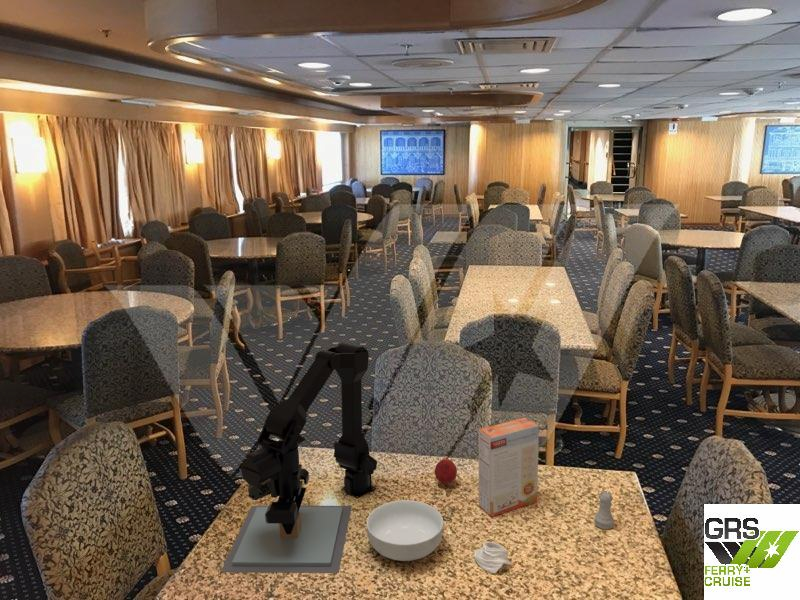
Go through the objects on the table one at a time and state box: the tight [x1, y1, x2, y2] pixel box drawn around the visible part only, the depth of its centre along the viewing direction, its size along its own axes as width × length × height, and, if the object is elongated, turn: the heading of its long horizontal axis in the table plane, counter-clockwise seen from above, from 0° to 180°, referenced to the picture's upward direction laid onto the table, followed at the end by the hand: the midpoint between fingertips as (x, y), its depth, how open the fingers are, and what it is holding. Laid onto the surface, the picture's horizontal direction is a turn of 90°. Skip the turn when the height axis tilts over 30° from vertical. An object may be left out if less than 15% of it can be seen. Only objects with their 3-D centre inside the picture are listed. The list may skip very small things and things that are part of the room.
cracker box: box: [477, 417, 540, 517], centre depth 153 cm, size 14×6×21 cm, turn 115°
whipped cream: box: [474, 541, 512, 574], centre depth 133 cm, size 8×7×5 cm
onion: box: [434, 455, 458, 486], centre depth 164 cm, size 6×6×8 cm
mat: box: [220, 505, 353, 574], centre depth 143 cm, size 25×25×1 cm
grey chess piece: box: [593, 490, 615, 530], centre depth 145 cm, size 4×4×8 cm
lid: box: [232, 507, 343, 566], centre depth 143 cm, size 21×21×5 cm
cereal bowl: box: [365, 499, 445, 562], centre depth 138 cm, size 17×17×7 cm
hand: (290, 528), depth 143 cm, fingers closed on lid, 4 cm apart
